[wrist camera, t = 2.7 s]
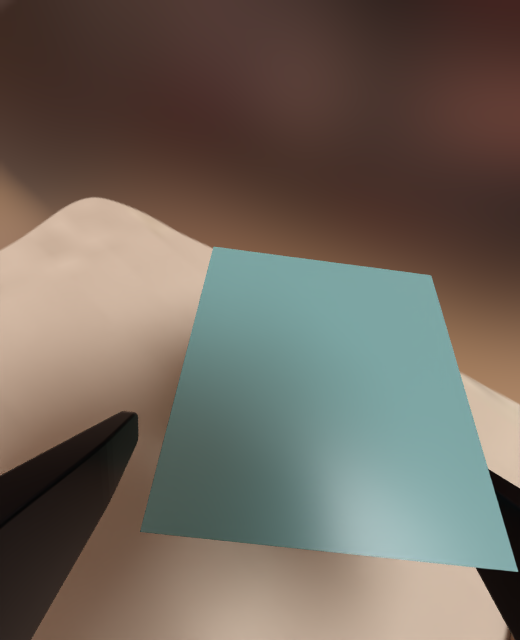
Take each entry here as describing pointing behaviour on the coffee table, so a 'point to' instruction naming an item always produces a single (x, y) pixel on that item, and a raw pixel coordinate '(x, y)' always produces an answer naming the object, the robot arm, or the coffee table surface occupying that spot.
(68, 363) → the coffee table surface
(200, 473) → the teal square pillar
